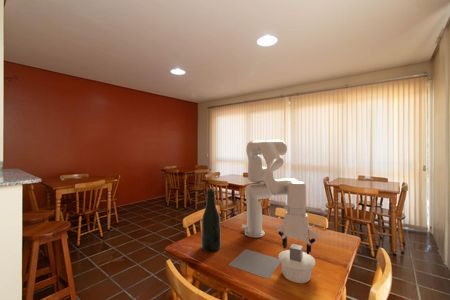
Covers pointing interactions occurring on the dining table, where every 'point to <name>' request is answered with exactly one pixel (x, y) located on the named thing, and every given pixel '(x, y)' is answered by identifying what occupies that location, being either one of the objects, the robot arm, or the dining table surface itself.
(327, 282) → the dining table surface
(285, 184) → the robot arm
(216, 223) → the green wine bottle
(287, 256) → the lid
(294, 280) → the ramekin
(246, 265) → the mat
